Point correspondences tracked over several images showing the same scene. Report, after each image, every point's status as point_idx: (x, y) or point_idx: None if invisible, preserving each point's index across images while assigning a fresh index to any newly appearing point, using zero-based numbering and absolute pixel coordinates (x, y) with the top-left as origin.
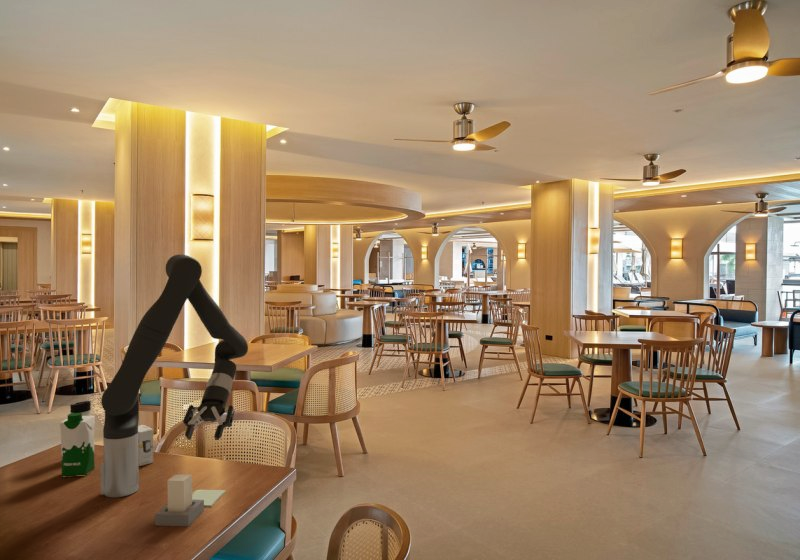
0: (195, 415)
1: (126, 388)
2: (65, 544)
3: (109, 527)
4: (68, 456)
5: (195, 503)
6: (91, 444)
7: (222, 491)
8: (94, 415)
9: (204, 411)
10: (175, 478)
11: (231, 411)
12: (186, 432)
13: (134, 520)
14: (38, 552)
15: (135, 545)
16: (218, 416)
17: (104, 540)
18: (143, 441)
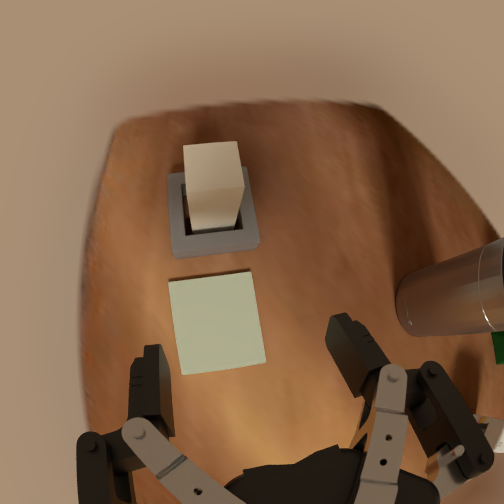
0: (401, 424)
1: None
2: (337, 118)
3: (322, 163)
4: None
5: (182, 228)
6: None
7: (187, 366)
8: None
9: (356, 490)
10: (220, 154)
11: None
12: (363, 333)
13: (300, 191)
14: (348, 103)
15: (228, 120)
16: (171, 478)
17: (292, 127)
18: (487, 426)
